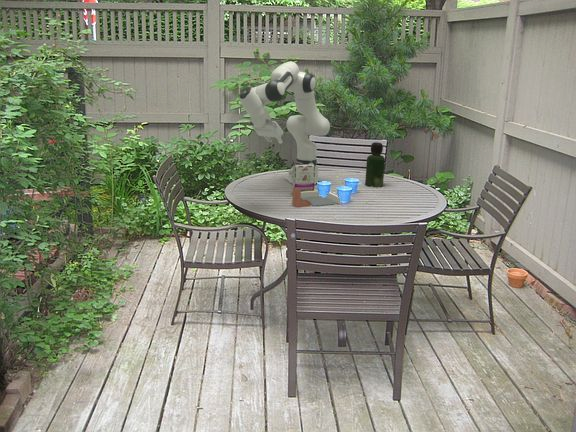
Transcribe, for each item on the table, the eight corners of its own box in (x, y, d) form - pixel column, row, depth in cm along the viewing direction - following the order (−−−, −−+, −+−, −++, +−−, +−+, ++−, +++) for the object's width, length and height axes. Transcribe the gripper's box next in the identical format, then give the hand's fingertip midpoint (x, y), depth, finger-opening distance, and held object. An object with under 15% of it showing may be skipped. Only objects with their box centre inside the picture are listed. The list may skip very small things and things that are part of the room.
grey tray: (298, 198, 337) (298, 191, 336) (324, 196, 344) (325, 189, 343) (313, 206, 322) (314, 199, 321) (341, 204, 329) (341, 197, 328)
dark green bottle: (386, 186, 371) (389, 144, 364) (370, 187, 367) (373, 144, 360) (377, 183, 380) (380, 141, 373) (361, 183, 376) (364, 141, 370)
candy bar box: (311, 193, 349) (312, 163, 344) (314, 195, 344) (315, 165, 340) (291, 193, 346) (292, 164, 341) (294, 196, 341) (295, 166, 337)
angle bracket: (292, 204, 324) (292, 187, 321) (306, 203, 327) (306, 186, 325) (296, 207, 319) (297, 189, 317) (310, 206, 323) (311, 188, 320)
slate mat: (299, 199, 336) (299, 198, 335) (323, 197, 342) (323, 196, 342) (313, 206, 322) (313, 205, 322) (338, 204, 328) (338, 203, 328)
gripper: (277, 116, 298) (291, 139, 304) (255, 114, 314) (269, 137, 321) (268, 124, 296) (282, 147, 302) (246, 122, 312) (261, 145, 319)
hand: (275, 142), depth 312 cm, fingers open, 8 cm apart
